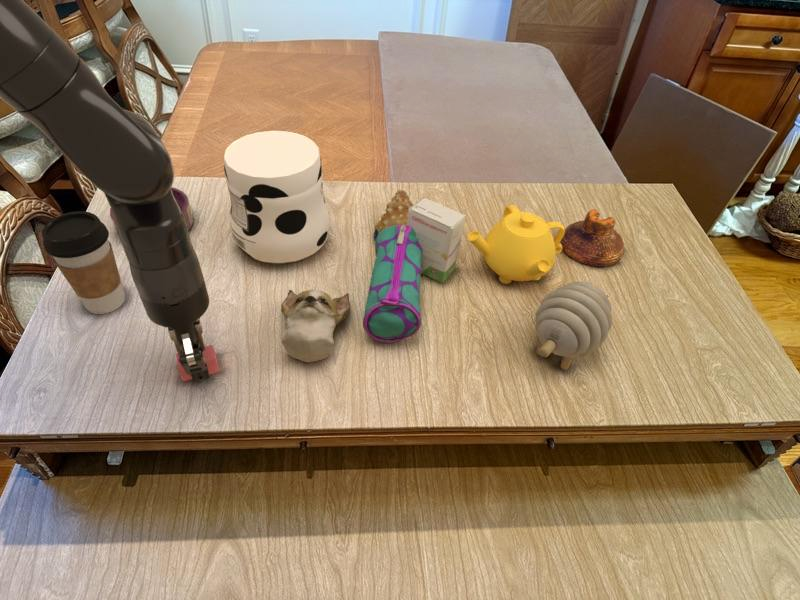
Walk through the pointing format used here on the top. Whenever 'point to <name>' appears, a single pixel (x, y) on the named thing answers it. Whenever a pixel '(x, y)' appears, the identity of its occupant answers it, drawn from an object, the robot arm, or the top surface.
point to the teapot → (519, 246)
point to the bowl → (182, 203)
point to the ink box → (437, 237)
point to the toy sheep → (572, 321)
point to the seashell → (395, 211)
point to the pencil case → (394, 285)
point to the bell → (593, 241)
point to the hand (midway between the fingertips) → (199, 369)
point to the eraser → (210, 361)
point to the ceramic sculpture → (312, 323)
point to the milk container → (276, 196)
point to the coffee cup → (85, 259)
